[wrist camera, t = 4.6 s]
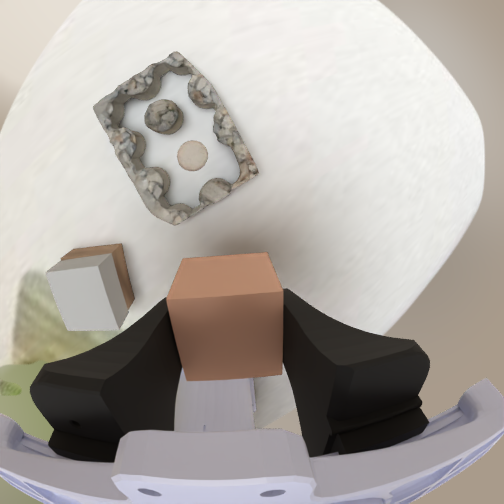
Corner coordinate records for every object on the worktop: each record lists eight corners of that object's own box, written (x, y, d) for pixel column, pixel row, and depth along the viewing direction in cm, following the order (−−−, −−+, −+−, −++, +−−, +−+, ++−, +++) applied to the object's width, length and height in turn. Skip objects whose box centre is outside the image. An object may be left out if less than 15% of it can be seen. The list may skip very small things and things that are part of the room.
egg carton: (259, 174, 20) (267, 178, 16) (172, 223, 20) (160, 239, 16) (191, 57, 16) (184, 37, 12) (107, 110, 17) (83, 103, 13)
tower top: (128, 312, 20) (119, 329, 17) (79, 314, 19) (67, 330, 17) (111, 253, 18) (98, 265, 16) (61, 260, 18) (45, 272, 15)
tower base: (135, 297, 22) (127, 312, 20) (88, 298, 22) (78, 312, 19) (122, 242, 20) (111, 252, 18) (74, 248, 20) (60, 258, 18)
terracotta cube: (268, 322, 14) (282, 374, 11) (194, 328, 14) (186, 381, 10) (267, 252, 13) (283, 291, 9) (182, 258, 13) (166, 299, 9)
